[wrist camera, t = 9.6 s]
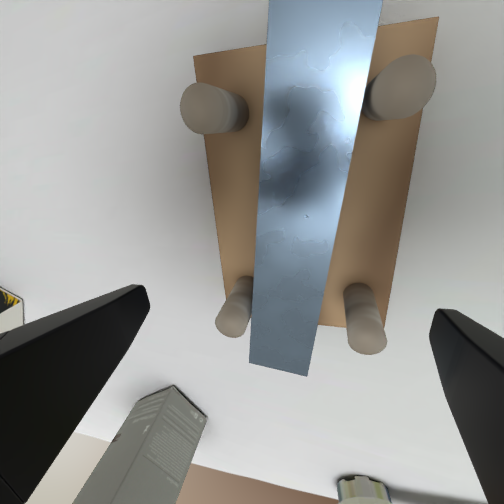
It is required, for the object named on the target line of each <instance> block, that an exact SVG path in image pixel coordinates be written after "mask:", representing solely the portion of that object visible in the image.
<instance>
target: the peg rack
mask: <svg viewBox="0 0 504 504" xmlns="http://www.w3.org/2000/svg"><path fill="white" fill-rule="evenodd" d="M438 20H439V17H433V18H427V19H420V20H414V21H408V22H402V23H396V24H389V25H383V26H378V27H377V32H376V37H375V42H374V47H373V52H372V57H371V62H370V67H369V72H368V77H367V82H366V87H365V92H364V97H363V102H362V107H361V112H360V117H359V122H358V127H357V132H356V137H355V142H354V147H353V152H352V157H351V161H350V166H349V171H348V176H347V181H346V186H345V191H344V196H343V201H342V206H341V211H340V216H339V221H338V226H337V231H336V236H335V241H334V246H333V251H332V256H331V261H330V266H329V271H328V276H327V281H326V286H325V291H324V295H323V300H322V305H321V310H320V315H319V320H318V325H325V326H334V327H344V328H347V337H348V343H349V346H350V347H351V348H352V349H353V350H354V351H356V352H358V353H360V354H365V355H372V354H377V353H379V352H381V351H382V350H383V349H384V348H385V347H386V345H387V338H386V335H385V331H384V326H385V320H386V315H387V309H388V303H389V298H390V292H391V286H392V281H393V275H394V269H395V264H396V258H397V252H398V247H399V241H400V235H401V230H402V224H403V218H404V213H405V207H406V201H407V196H408V190H409V184H410V179H411V173H412V167H413V162H414V156H415V150H416V145H417V139H418V133H419V128H420V122H421V116H422V111H423V107H424V106H425V105H426V104H427V102H428V101H429V100H430V98H431V96H432V94H433V92H434V89H435V85H436V73H435V69H434V67H433V65H432V64H431V60H432V54H433V48H434V43H435V37H436V31H437V26H438ZM266 49H267V44H265V45H258V46H252V47H246V48H240V49H234V50H227V51H221V52H215V53H209V54H202V55H196V56H193V58H194V66H195V73H196V81H197V83H194V84H192V85H190V86H189V87H188V88H187V89H186V90H185V91H184V93H183V95H182V98H181V102H180V111H181V115H182V118H183V121H184V122H185V124H186V125H187V127H188V128H189V129H191V130H192V131H193V132H195V133H198V134H204V140H205V147H206V154H207V162H208V169H209V177H210V184H211V191H212V199H213V206H214V214H215V221H216V228H217V236H218V243H219V250H220V258H221V265H222V273H223V280H224V287H225V295H226V301H225V303H224V305H223V307H222V308H221V310H220V312H219V314H218V315H217V317H216V320H215V324H216V327H217V329H218V330H219V331H220V332H221V333H222V334H223V335H225V336H227V337H231V338H237V337H240V336H242V335H243V334H244V332H245V330H246V327H247V325H248V322H249V320H250V318H252V300H253V282H254V264H255V246H256V228H257V210H258V192H259V174H260V156H261V138H262V120H263V103H264V85H265V67H266Z"/></svg>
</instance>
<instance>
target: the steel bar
mask: <svg viewBox="0 0 504 504" xmlns="http://www.w3.org/2000/svg"><path fill="white" fill-rule="evenodd" d="M382 3H383V0H269V13H268V31H267V49H266V67H265V85H264V103H263V120H262V138H261V156H260V174H259V192H258V210H257V228H256V246H255V264H254V282H253V300H252V318H251V336H250V354H249V363H252V364H256V365H261V366H265V367H269V368H273V369H277V370H282V371H286V372H290V373H294V374H298V375H303V376H307V375H308V370H309V365H310V360H311V355H312V350H313V345H314V340H315V335H316V330H317V325H318V320H319V315H320V310H321V305H322V300H323V295H324V291H325V286H326V281H327V276H328V271H329V266H330V261H331V256H332V251H333V246H334V241H335V236H336V231H337V226H338V221H339V216H340V211H341V206H342V201H343V196H344V191H345V186H346V181H347V176H348V171H349V166H350V161H351V157H352V152H353V147H354V142H355V137H356V132H357V127H358V122H359V117H360V112H361V107H362V102H363V97H364V92H365V87H366V82H367V77H368V72H369V67H370V62H371V57H372V52H373V47H374V42H375V37H376V32H377V27H378V22H379V18H380V13H381V8H382Z"/></svg>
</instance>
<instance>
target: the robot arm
mask: <svg viewBox="0 0 504 504" xmlns="http://www.w3.org/2000/svg"><path fill="white" fill-rule="evenodd" d="M149 310H150V303H149V299H148V296H147V292H146V289H145V287H144V286H143V285H135V284H132V285H129V286H126V287H124V288H121V289H118V290H116V291H113V292H110V293H108V294H105V295H102V296H99V297H97V298H94V299H91V300H89V301H86V302H83V303H81V304H78V305H75V306H73V307H70V308H67V309H65V310H62V311H59V312H57V313H54V314H51V315H49V316H46V317H43V318H41V319H38V320H35V321H33V322H30V323H27V324H25V325H22V326H19V327H17V328H14V329H12V330H11V331H6V332H3V333H1V334H0V504H25V503H26V502H27V500H28V499H29V497H30V496H31V494H32V493H33V491H34V490H35V488H36V487H37V485H38V484H39V482H40V481H41V479H42V478H43V476H44V475H45V473H46V472H47V470H48V469H49V467H50V466H51V464H52V463H53V461H54V460H55V458H56V457H57V456H58V454H59V452H60V451H61V449H62V448H63V447H64V445H65V444H66V442H67V440H68V439H69V438H70V436H71V434H72V433H73V432H74V430H75V429H76V427H77V426H78V424H79V423H80V421H81V420H82V418H83V417H84V415H85V414H86V412H87V411H88V409H89V408H90V406H91V405H92V403H93V402H94V400H95V399H96V397H97V396H98V394H99V393H100V391H101V390H102V388H103V387H104V385H105V384H106V382H107V381H108V379H109V378H110V376H111V375H112V373H113V372H114V370H115V369H116V367H117V366H118V364H119V363H120V361H121V360H122V358H123V357H124V355H125V354H126V352H127V351H128V349H129V347H130V345H131V344H132V342H133V340H134V338H135V336H136V335H137V333H138V331H139V329H140V327H141V325H142V324H143V322H144V320H145V318H146V316H147V314H148V312H149ZM429 339H430V344H431V347H432V351H433V355H434V358H435V362H436V365H437V369H438V373H439V376H440V380H441V384H442V387H443V390H444V394H445V397H446V399H447V402H448V405H449V407H450V410H451V412H452V415H453V417H454V420H455V422H456V425H457V427H458V429H459V432H460V434H461V437H462V439H463V442H464V444H465V447H466V449H467V452H468V454H469V457H470V459H471V462H472V464H473V467H474V469H475V472H476V474H477V476H478V479H479V481H480V484H481V486H482V489H483V491H484V494H485V496H486V499H487V501H488V504H504V338H502V337H501V336H499V335H497V334H496V333H494V332H492V331H491V330H489V329H487V328H486V327H484V326H482V325H481V324H479V323H477V322H475V321H474V320H472V319H470V318H469V317H467V316H465V315H464V314H462V313H460V312H459V311H457V310H454V309H437V310H436V312H435V314H434V317H433V321H432V325H431V329H430V333H429Z"/></svg>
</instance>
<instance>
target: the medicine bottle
mask: <svg viewBox="0 0 504 504" xmlns="http://www.w3.org/2000/svg"><path fill="white" fill-rule="evenodd" d="M22 325H23V302H22V299H20V298H19V297H17V296H15V295H13V294H11V293H9V292H7V291H6V290H4V289H2V288H0V334H1V333H3V332H6V331H11V330H12V329H14V328H17V327H19V326H22Z"/></svg>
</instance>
